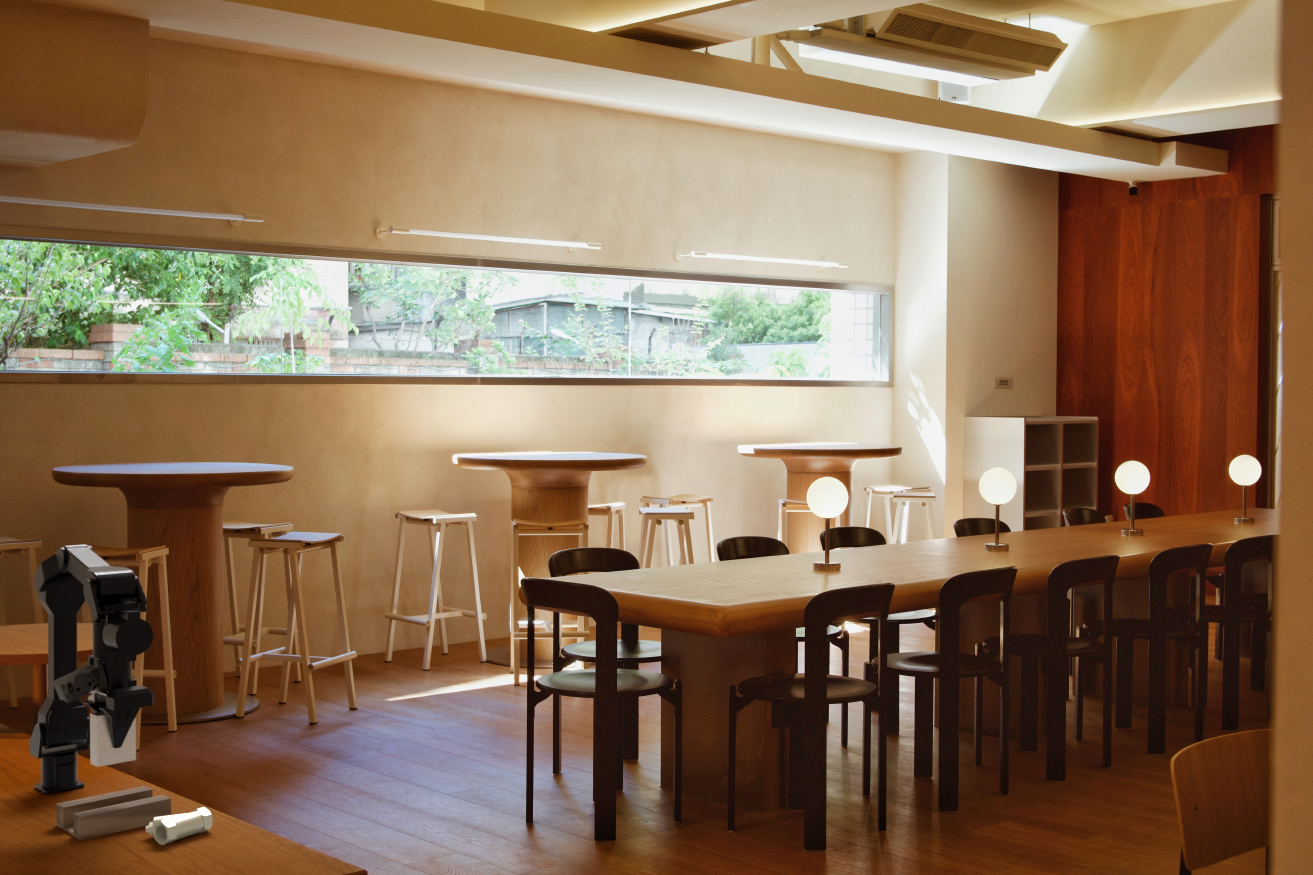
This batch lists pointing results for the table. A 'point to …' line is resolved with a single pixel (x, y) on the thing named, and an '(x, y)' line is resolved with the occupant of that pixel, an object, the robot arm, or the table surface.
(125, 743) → the brushed metal bar
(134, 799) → the grey u-channel
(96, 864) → the table surface
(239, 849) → the table surface
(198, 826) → the pipe fitting
